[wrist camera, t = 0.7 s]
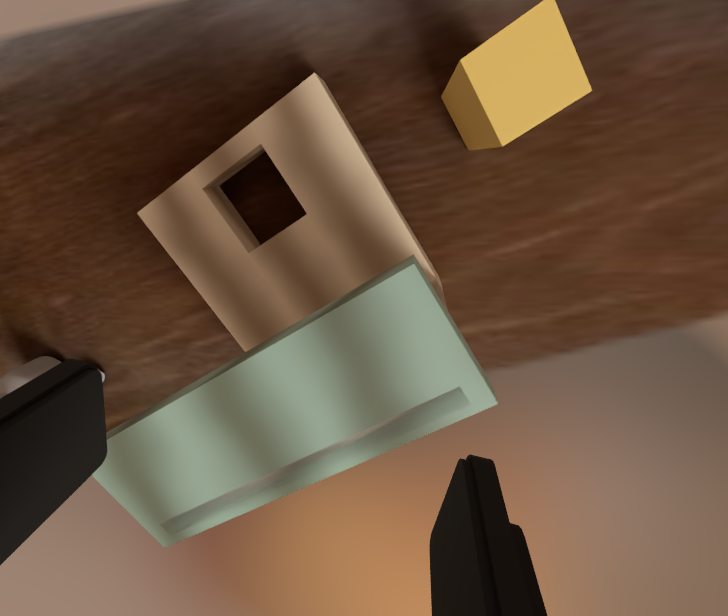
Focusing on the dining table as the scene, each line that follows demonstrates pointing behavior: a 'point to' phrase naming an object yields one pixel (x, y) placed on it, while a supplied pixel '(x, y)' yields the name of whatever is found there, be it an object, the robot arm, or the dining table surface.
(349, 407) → the green-topped stand
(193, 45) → the dining table surface
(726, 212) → the dining table surface
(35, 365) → the reed diffuser
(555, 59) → the peg
